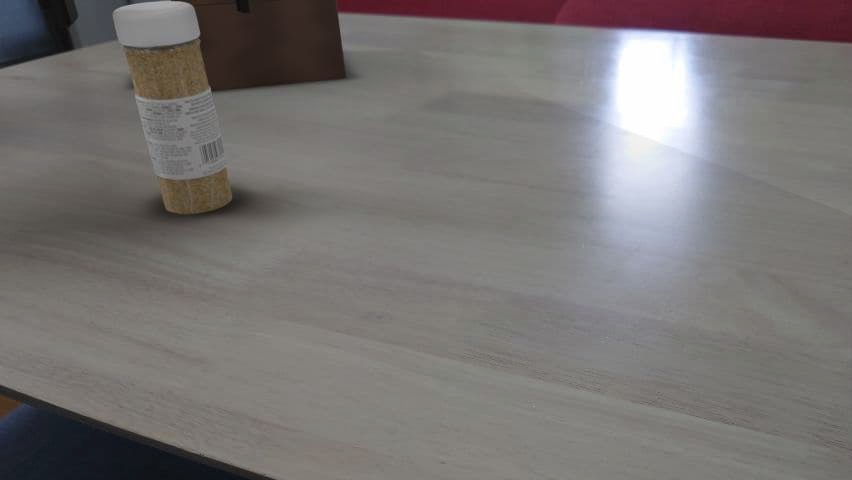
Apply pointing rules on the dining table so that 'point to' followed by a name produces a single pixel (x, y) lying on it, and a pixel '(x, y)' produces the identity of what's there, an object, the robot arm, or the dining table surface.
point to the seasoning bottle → (175, 104)
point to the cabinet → (269, 42)
